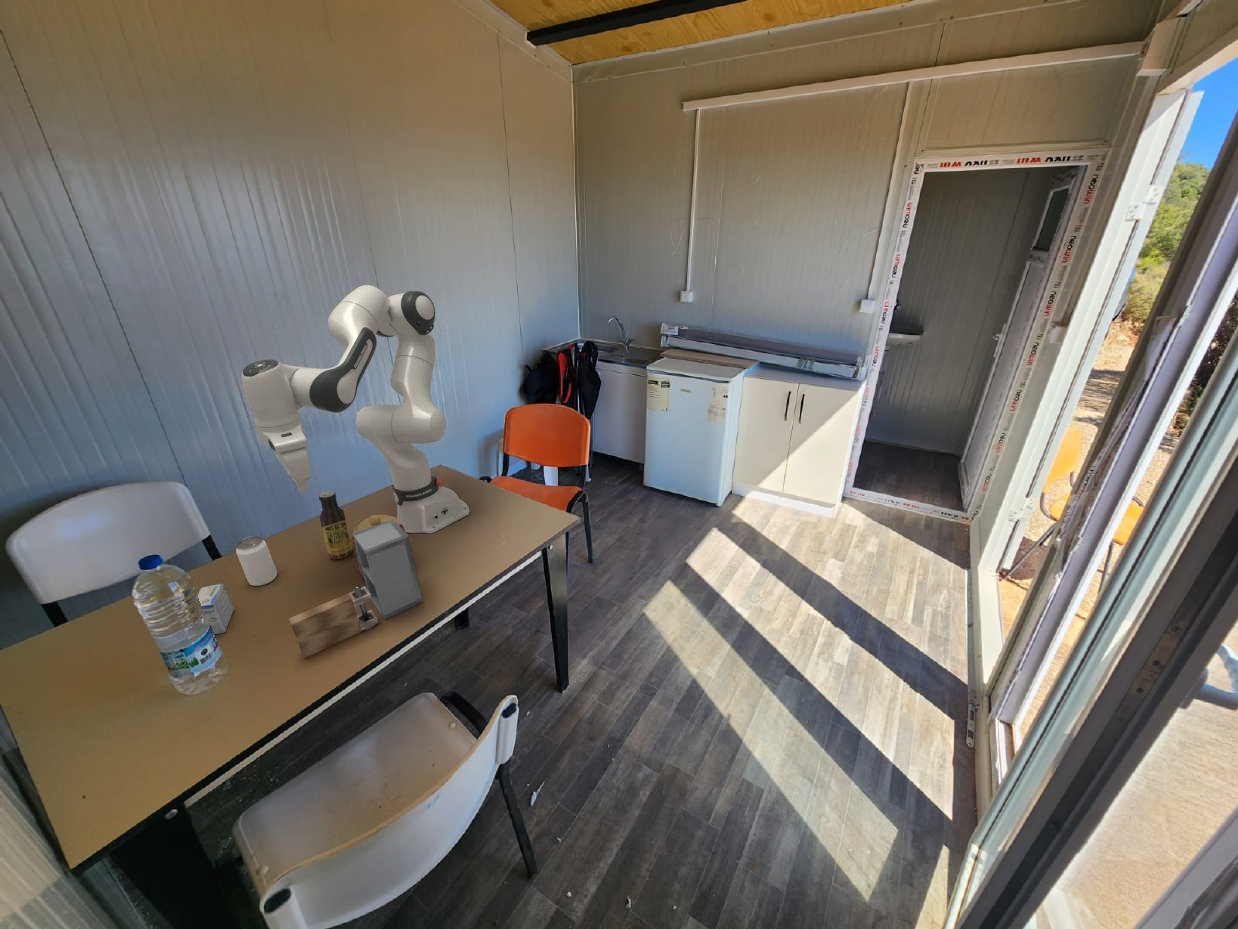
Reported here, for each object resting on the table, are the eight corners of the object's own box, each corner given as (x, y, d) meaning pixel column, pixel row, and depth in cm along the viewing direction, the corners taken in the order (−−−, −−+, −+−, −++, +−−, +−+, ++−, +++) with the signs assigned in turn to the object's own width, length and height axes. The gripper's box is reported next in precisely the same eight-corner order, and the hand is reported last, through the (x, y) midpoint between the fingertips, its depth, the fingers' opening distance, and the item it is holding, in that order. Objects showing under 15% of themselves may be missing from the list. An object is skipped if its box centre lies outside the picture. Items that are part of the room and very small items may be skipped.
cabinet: (407, 582, 132) (392, 519, 123) (422, 601, 125) (408, 536, 116) (370, 598, 126) (352, 533, 117) (384, 619, 119) (366, 552, 110)
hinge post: (373, 617, 120) (362, 579, 115) (378, 625, 118) (368, 587, 112) (357, 624, 118) (346, 586, 113) (362, 632, 115) (351, 594, 110)
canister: (376, 554, 142) (362, 502, 134) (419, 556, 142) (409, 504, 134) (351, 584, 131) (335, 528, 123) (399, 586, 130) (386, 530, 122)
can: (263, 588, 129) (249, 551, 123) (242, 585, 130) (227, 547, 124) (283, 573, 134) (270, 536, 129) (263, 569, 135) (249, 533, 130)
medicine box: (213, 615, 120) (200, 587, 116) (235, 610, 122) (222, 582, 118) (203, 637, 113) (189, 609, 110) (226, 632, 115) (213, 603, 111)
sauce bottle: (332, 563, 138) (314, 502, 130) (326, 553, 142) (308, 493, 134) (357, 554, 142) (341, 494, 133) (351, 544, 146) (334, 486, 138)
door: (373, 616, 120) (364, 584, 116) (379, 625, 118) (370, 592, 113) (300, 650, 110) (287, 617, 106) (304, 660, 108) (292, 626, 104)
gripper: (256, 422, 119) (274, 472, 125) (276, 449, 106) (294, 504, 112) (286, 416, 123) (301, 465, 129) (308, 441, 110) (325, 494, 116)
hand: (298, 483), depth 121 cm, fingers open, 8 cm apart
